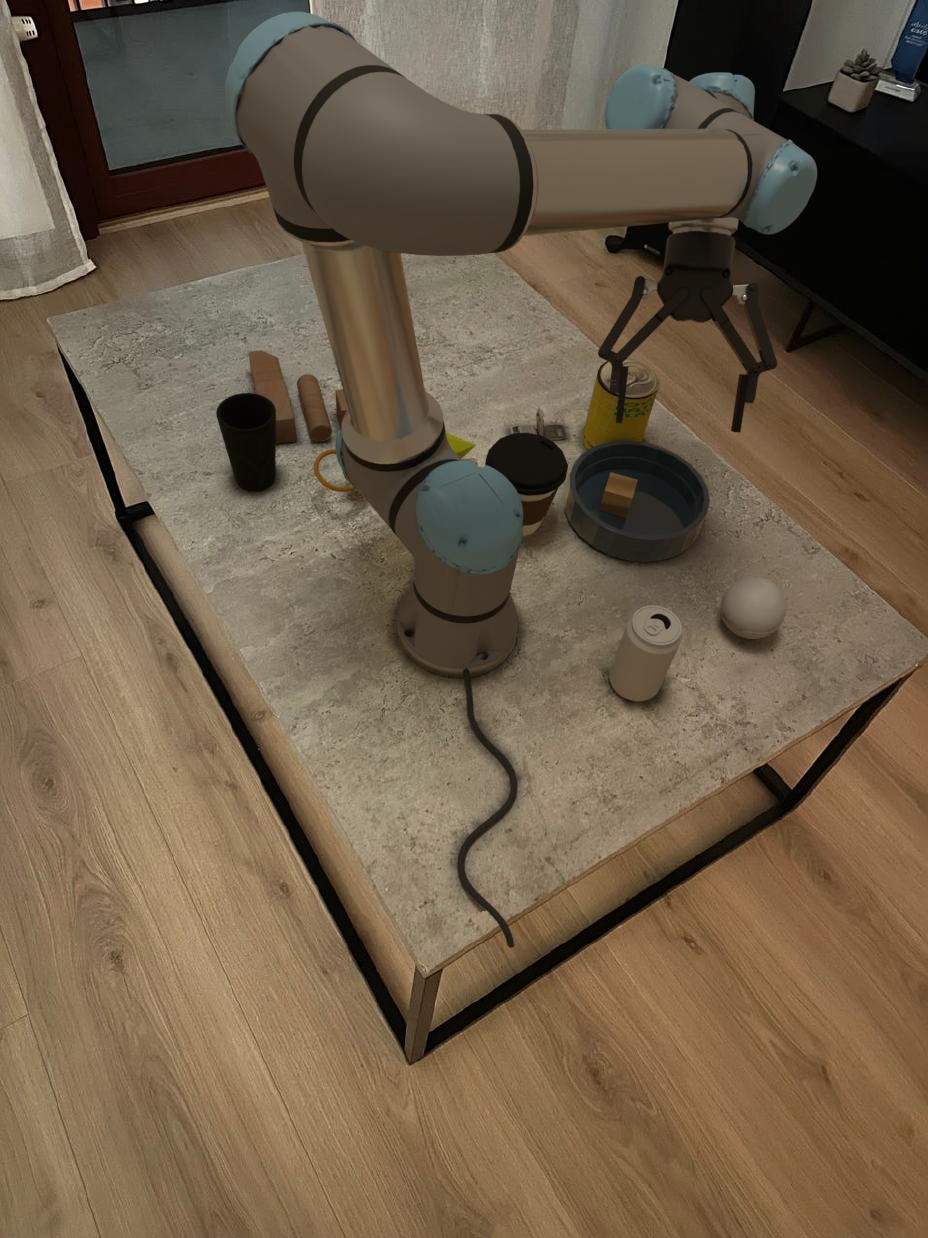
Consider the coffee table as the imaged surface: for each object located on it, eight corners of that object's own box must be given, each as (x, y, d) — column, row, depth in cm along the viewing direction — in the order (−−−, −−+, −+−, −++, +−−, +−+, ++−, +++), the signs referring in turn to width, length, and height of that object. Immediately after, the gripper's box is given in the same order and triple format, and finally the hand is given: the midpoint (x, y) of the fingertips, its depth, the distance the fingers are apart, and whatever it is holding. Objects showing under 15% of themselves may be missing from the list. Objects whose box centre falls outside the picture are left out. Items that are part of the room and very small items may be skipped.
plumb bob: (454, 439, 136) (299, 468, 125) (472, 400, 129) (308, 427, 118) (479, 487, 133) (322, 521, 122) (499, 449, 126) (333, 482, 115)
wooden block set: (262, 420, 126) (245, 343, 137) (266, 450, 131) (249, 374, 141) (380, 406, 130) (355, 332, 141) (380, 436, 135) (355, 362, 145)
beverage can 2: (669, 683, 111) (696, 624, 102) (638, 714, 108) (664, 656, 99) (628, 653, 114) (651, 592, 104) (597, 682, 110) (618, 623, 101)
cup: (272, 502, 125) (264, 435, 115) (219, 491, 125) (207, 423, 116) (290, 465, 129) (283, 398, 120) (239, 455, 130) (228, 387, 120)
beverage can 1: (651, 444, 139) (672, 380, 129) (615, 469, 134) (633, 406, 125) (607, 414, 142) (624, 350, 133) (570, 438, 138) (584, 374, 128)
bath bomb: (700, 616, 118) (718, 577, 112) (744, 594, 121) (764, 555, 115) (741, 660, 114) (762, 622, 108) (785, 636, 117) (809, 598, 111)
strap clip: (512, 443, 136) (516, 421, 133) (508, 429, 138) (511, 407, 135) (566, 439, 138) (571, 418, 134) (561, 426, 139) (566, 404, 136)
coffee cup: (515, 483, 131) (526, 418, 121) (571, 524, 127) (586, 461, 117) (461, 518, 126) (468, 453, 116) (518, 562, 121) (530, 499, 112)
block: (626, 518, 127) (632, 498, 124) (598, 510, 128) (604, 490, 125) (631, 499, 130) (638, 479, 127) (604, 492, 130) (610, 471, 127)
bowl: (687, 580, 122) (698, 556, 118) (548, 540, 124) (554, 515, 120) (708, 486, 134) (718, 461, 130) (581, 452, 136) (587, 426, 132)
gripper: (810, 245, 103) (779, 433, 108) (591, 234, 106) (572, 417, 112) (824, 234, 96) (791, 437, 101) (589, 223, 99) (569, 420, 105)
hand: (676, 427), depth 106 cm, fingers open, 13 cm apart
